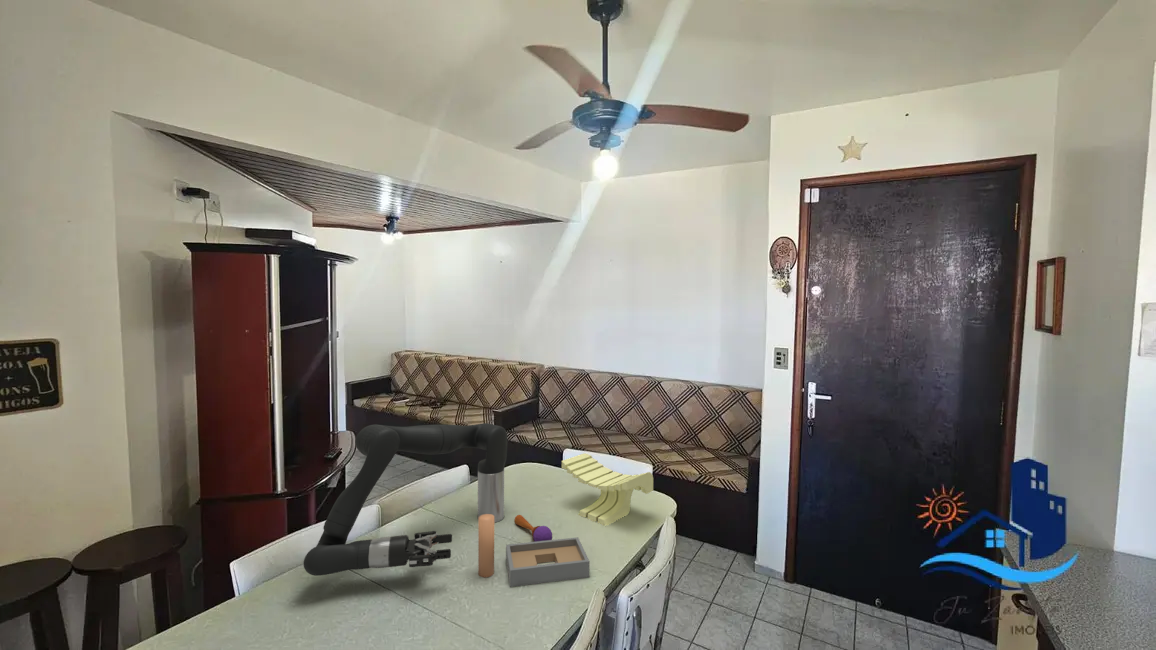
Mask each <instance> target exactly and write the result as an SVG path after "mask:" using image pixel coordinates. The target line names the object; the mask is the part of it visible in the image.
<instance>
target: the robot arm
mask: <svg viewBox="0 0 1156 650" xmlns="http://www.w3.org/2000/svg"><path fill="white" fill-rule="evenodd" d="M354 442H355V443H354V444H355V448H356V449H357V450H358V452H360V453H361V454H362V456H365V460H364V462H363V465H362V467H361V469H360V470H359V472H358V473H357V475H356V476H355V478H354V479H353V480H352V481H351V482H350V483H349V484H348V485H347V486H346V487H345V489H344V490H343V491H341V493H340V494H339V495H338V497H337V499H336V500H335V501H334V504H333V506H332V507H331V510H330V511H329V513H328V516H327V517H326V520H325V522H324V523H323V526H322V527H323V528H322V529H323V532H322V534H321V536H320V538H319V540H318V543H317V544H316V546H315V547H313V548H311V549H310V550H309V551H308V552H307V553H306V555H305V557H304V559H303V568H304V571H306V573H308V574H309V575H311V576H326V575H327V576H328V575H332V574H337V573H342V572H345V571H352V570H354V571H356V570H366V569H385V568H395V567H405V566H407V565H408V567H409V568H416V567H429V566H433V565H434V562H436V561H437V560H445V559H447V560H448V559H450V558H451V557H452V550H451V549H450V548H445V549H437V550H434V549H432V547H433V546H435V545H437V544H438V545H439V544H448V543H452V542H453V534H452V533H446V534H439V533H437V531H436V530H430V531H422V532H416V533H415V532H414V537H413V539H410V538H409V535H407V534H405V535H404V534H403V535H393V536H392V535H391V536H382V537H378V538H377V537H376V538H372V539H362V540H356V541H352V542H349V543H347V540H348V537H349V534H350V533H351V531H352V529H353V528H354V525H355V523H356V521H357V519H358V516H359V514H360V513H361V511H362V508H363V506H364V504H365V503H366V501H367V499H368V497H369V496H370V494H371V492H372V491H373V489H374V488H375V485H377V483H378V481H379V479H380V478H381V476H382V474H383V473H384V472H385V470H386V469H387V467H388V466H389V465H390V463H391V461H393V459H394V457H395V456H396V453H397V452H407V453H415V454H421V455H441V454H442V455H443V454H450V453H453V452H456V451H457V450H458V449H462V448H474V449H479V450H484V451H486V452H485V458H484V459H481V460H479V461H478V463H477V520H478V521H479V516H481V515H484V514H492V515H494V523H497V522H500V521H502V520H504V517H505V466H506V463H507V458H508V457H507V456H508V455H507V454H508V433H507V431H506V428H505V427H503V426H501V425H497V424H492V423H488V422H484V423H477V424H471V425H458V424H423V425H422V424H421V425H411V426H410V425H409V426H394V425H383V424H377V423H375V424H370V425H367V426H364V427H363V428H362V429H361V430H360V431H359V432H358V433H357V435H356V436H355V440H354Z"/></svg>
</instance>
